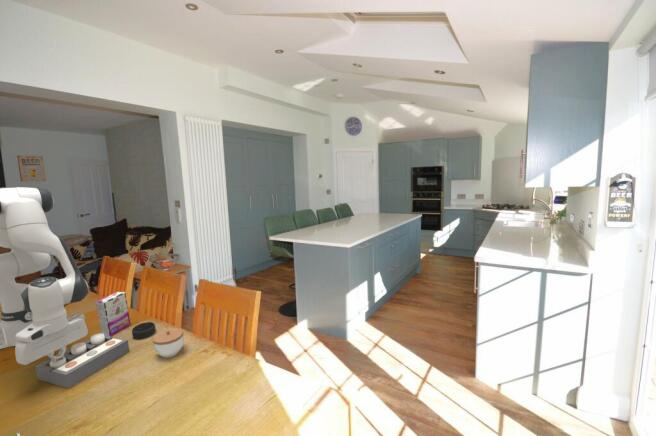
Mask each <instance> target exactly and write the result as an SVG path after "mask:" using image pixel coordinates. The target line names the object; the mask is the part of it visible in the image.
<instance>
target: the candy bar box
mask: <svg viewBox="0 0 656 436" xmlns="http://www.w3.org/2000/svg"><path fill="white" fill-rule="evenodd" d="M95 304H96V311H97V316H98V322H99V326H100V333H103V334H104V335H105V336H110V337H114V336H115V335H116V334H118V333H120V332H121V331H123V330H124V329H126V328H127V327H129V326H130V325H131V319H130V311H129V307H128V301H127V295H126V291H116V292H114V293H111V294H109V295H108V296H105V297H103V298H101V299H99V300H97V301H95Z"/></svg>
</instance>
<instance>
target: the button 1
mask: <svg viewBox="0 0 656 436" xmlns="http://www.w3.org/2000/svg"><path fill="white" fill-rule="evenodd" d="M65 363H67V362H66V358H65V357H64V359H62V360H60V361H58V362H56V363H52V361H51V362H50V363H49V364H50V366H51V367H54V368H55V369H56V368H57V367H59V366H61V365H63V364H65Z"/></svg>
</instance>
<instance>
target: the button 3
mask: <svg viewBox="0 0 656 436" xmlns="http://www.w3.org/2000/svg"><path fill="white" fill-rule="evenodd" d="M90 339H91V345H96V347H97V346H99V345H101V344H103V343H104V342H105V337H104V334H103V333H101V332H99V333H96V334H93V335H91V336H90Z"/></svg>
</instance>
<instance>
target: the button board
mask: <svg viewBox="0 0 656 436" xmlns="http://www.w3.org/2000/svg"><path fill="white" fill-rule="evenodd" d="M104 337H105V342H104V343H103V344H101V345H99V346H97V347H96V345H91V339H87V340H85V341H83V342H84V343H86V349H87V352H86V353H84V354H82V355H80V356H78V357H77V356H75V355H72V353H71V348H69V349H68V350H67V349H66V350H65V353H64V357H65V358H66V362H67V363H65V364H63V365H61V366H59V367H57V368H56V369H55V368H54V367H51V366H50V364H49V363H50V362H51V358H50V359H47V360H45V361H43V362H40V363H39V364H38V365H36V366H35V371H36V376H37V379H38V380H39V381H41V382H46V383H50V384H52V385H57V386H59V387H63V388H66V389H70V388H72V387H73V386H75V385H77V384H78V383H80V382H81V381H84V380H86V378H88V377H90V376H91V375H94V374H95V373H96V372H98V371H100V370H102V369H104V367H106V366H108V365H110V364H112V363H113V362H115V361H116V360H118V359H120V358H121V357H123V356H124V355H126V354H128V353H130V345H129V340H128V339H124V338H119V337H115V336H111V337H110V336H105V335H104Z"/></svg>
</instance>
